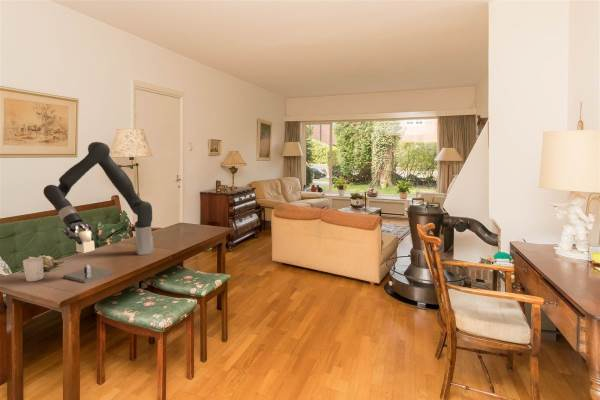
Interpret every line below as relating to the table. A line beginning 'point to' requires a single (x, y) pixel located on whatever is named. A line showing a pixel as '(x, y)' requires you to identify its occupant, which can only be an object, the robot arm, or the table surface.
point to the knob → (85, 242)
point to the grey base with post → (87, 274)
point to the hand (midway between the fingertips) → (87, 242)
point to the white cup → (33, 269)
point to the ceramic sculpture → (48, 262)
